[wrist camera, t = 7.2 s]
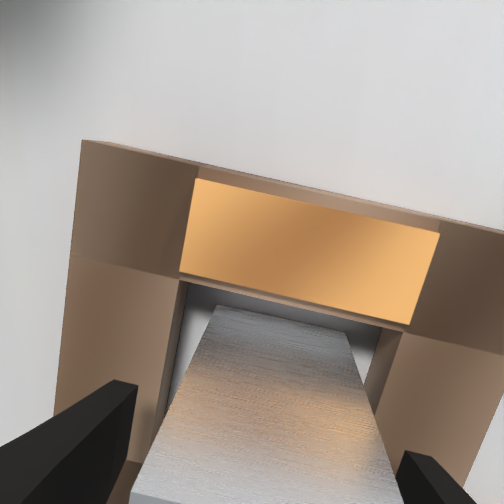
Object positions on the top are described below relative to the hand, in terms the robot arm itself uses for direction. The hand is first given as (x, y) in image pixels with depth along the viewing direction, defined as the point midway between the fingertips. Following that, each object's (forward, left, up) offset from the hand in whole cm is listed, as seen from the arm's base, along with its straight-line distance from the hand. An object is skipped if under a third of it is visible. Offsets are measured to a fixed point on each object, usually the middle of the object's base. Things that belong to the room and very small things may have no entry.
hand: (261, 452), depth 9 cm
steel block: (0, 0, -3) cm, 3 cm away
